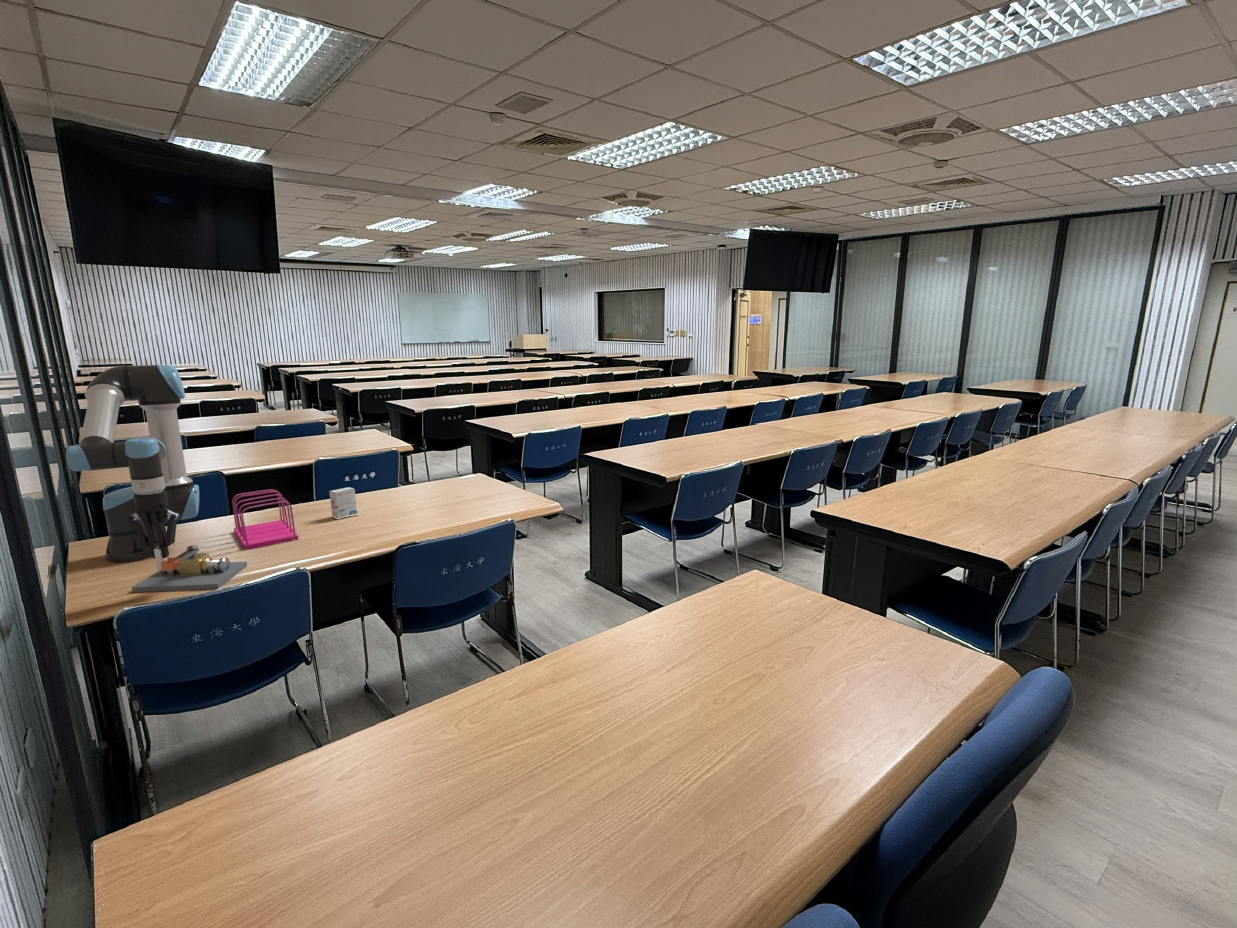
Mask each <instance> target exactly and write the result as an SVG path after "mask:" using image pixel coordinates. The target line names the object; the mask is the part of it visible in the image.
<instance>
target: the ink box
mask: <svg viewBox="0 0 1237 928" xmlns="http://www.w3.org/2000/svg"><path fill="white" fill-rule="evenodd" d="M328 493H329V499H330V507H331V515H332V516H331V517H333V516H334V517H336V518H340V517H344V516H347V515H351V514H356V513H357V514H358V509H357V508H358V507H357V499H356V491H355V488H353V487H350V486H349V487H344V488H338V489H333V490H329V492H328Z"/></svg>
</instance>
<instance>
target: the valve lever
mask: <svg viewBox="0 0 1237 928" xmlns="http://www.w3.org/2000/svg"><path fill="white" fill-rule="evenodd" d="M199 552H200V549H199V547H198V545H191V546H190V545H189V546H187V547H186V550H185V551H184V552H181V554H179V555H177V556H176V557H169V558H167V560H165V561H163V562H162V563H161V569H162V571H173V570H174V569H176V568H178V567H179V566H181V565H182V564H181V562H182V561H184V560H185V559H187V558H189V557H194V556H197V553H199Z"/></svg>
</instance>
